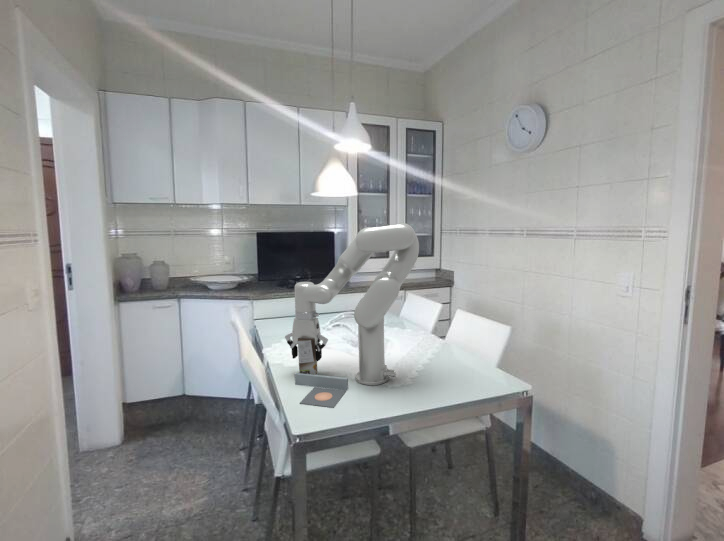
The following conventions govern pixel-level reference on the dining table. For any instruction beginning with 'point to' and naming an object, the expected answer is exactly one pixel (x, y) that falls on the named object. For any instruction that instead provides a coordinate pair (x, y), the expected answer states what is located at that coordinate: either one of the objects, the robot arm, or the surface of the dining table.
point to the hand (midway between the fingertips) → (306, 358)
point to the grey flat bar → (321, 381)
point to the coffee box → (307, 356)
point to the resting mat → (323, 397)
